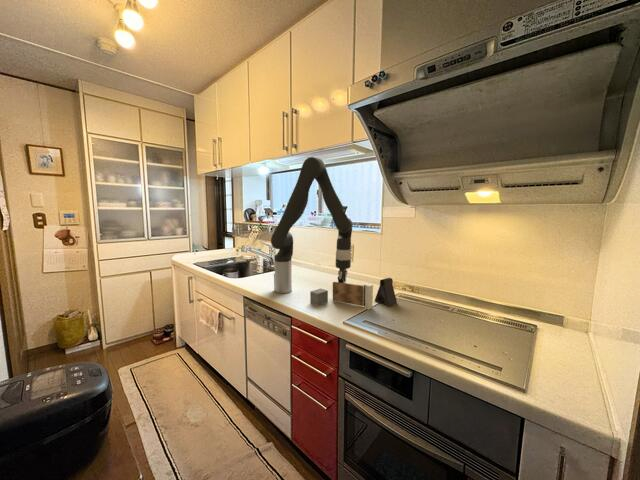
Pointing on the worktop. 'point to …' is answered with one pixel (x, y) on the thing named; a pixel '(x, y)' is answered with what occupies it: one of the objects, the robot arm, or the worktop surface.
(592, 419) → the worktop surface
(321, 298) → the block
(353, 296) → the door
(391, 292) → the door stopper
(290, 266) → the robot arm
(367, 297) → the hinge post
